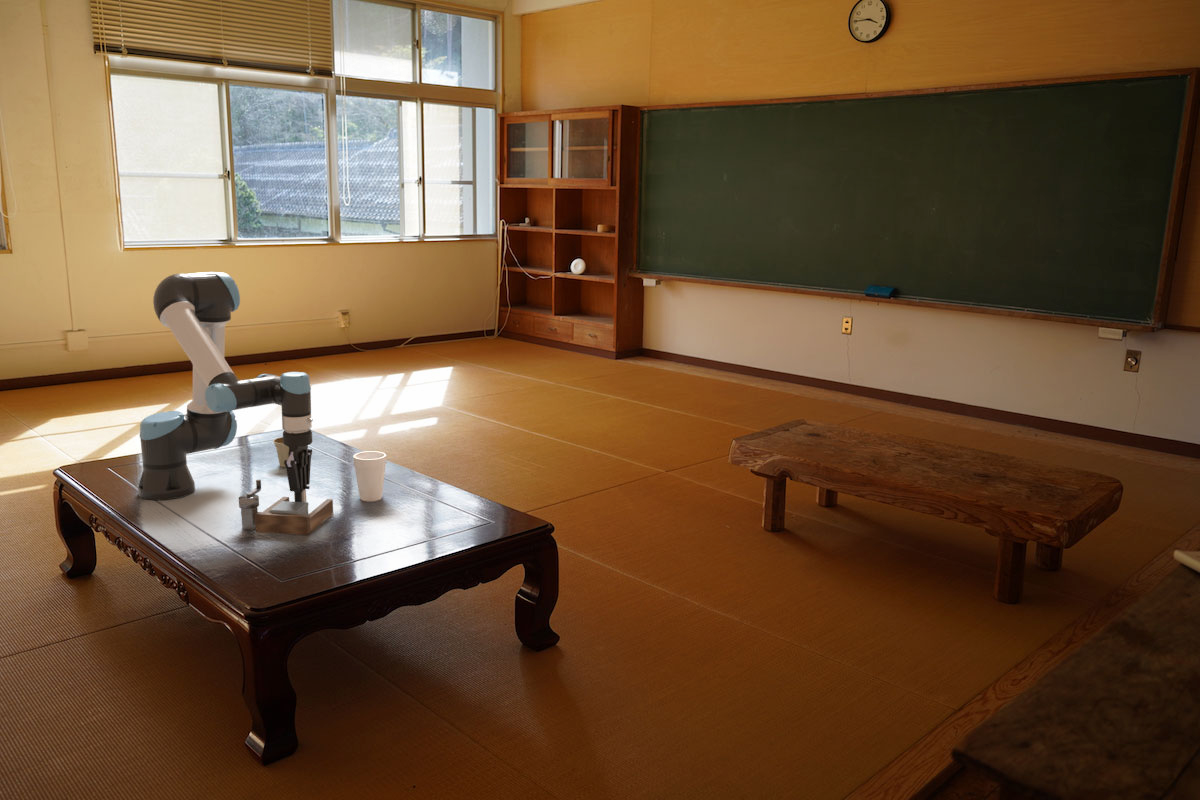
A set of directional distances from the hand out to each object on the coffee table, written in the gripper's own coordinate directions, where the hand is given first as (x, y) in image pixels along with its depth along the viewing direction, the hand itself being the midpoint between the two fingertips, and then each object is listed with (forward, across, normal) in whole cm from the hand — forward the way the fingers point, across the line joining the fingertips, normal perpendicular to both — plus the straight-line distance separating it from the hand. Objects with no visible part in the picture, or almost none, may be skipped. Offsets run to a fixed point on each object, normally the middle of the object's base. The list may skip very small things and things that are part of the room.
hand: (301, 512), depth 253 cm
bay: (+1, -3, 0) cm, 3 cm away
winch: (+1, -8, +10) cm, 13 cm away
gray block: (+1, -8, 0) cm, 8 cm away
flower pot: (+2, +47, +25) cm, 53 cm away
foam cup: (+2, +20, -13) cm, 23 cm away
